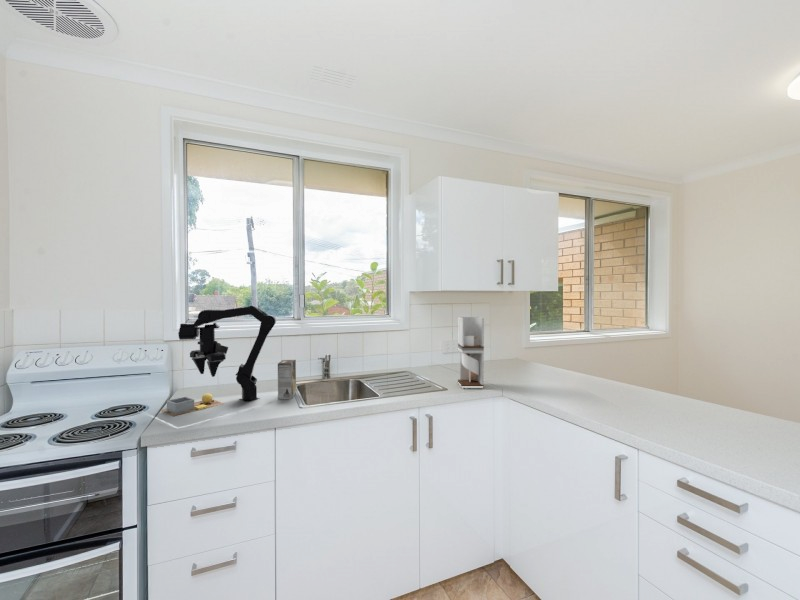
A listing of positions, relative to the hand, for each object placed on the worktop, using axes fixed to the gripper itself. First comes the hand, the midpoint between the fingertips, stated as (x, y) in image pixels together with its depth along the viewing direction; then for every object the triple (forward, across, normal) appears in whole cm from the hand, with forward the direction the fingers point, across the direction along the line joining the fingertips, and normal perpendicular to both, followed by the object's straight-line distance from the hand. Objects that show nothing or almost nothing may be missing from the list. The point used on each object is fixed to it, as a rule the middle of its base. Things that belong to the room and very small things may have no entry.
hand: (207, 375), depth 160 cm
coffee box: (+12, -19, -27) cm, 35 cm away
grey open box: (+12, -2, +12) cm, 17 cm away
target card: (+12, -6, +6) cm, 15 cm away
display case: (+13, -80, -93) cm, 123 cm away
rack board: (+12, -2, +7) cm, 14 cm away
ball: (+12, -1, +1) cm, 12 cm away
